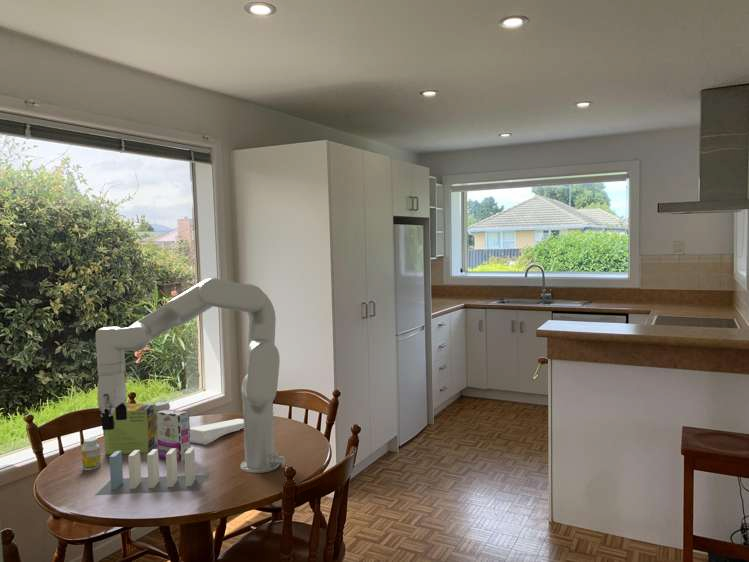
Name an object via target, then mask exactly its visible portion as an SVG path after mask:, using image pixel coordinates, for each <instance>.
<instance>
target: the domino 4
mask: <svg viewBox="0 0 749 562" xmlns="http://www.w3.org/2000/svg"><path fill="white" fill-rule="evenodd" d="M184 455H185V460H184V472H185V473H184V474H185V475H184V476H185V479H186V486H192V484H193V483H194V481H195V480H196V476H195V475H196V457H195V455H196V453H195V447H190V448H188V450H187V451H186V452H185V453H184Z"/></svg>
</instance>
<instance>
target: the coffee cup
mask: <svg viewBox="0 0 749 562" xmlns="http://www.w3.org/2000/svg"><path fill="white" fill-rule="evenodd" d="M151 403H155V407H156V412H159V411H162V410H165V409H171V405H170V403H169V401H167V400H158V401H152V402H151ZM156 428H157V418H156Z"/></svg>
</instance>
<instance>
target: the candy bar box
mask: <svg viewBox="0 0 749 562" xmlns="http://www.w3.org/2000/svg"><path fill="white" fill-rule="evenodd" d="M156 418H157V449H158V458H159V459H160V460H165V461H166V453H167V452H168V451H169V450H170V449H171V448H176V454H177V462H179V463H180V462H183V461H184V462H185V455H184V453H185V452H186V451H187V450H188V448H191V442H190V428H191V426H190V412H189V411H185V410H177V409H176V410H175V409H171V408H169V409H165V410H162V411H159V412H156Z"/></svg>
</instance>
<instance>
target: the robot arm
mask: <svg viewBox="0 0 749 562" xmlns="http://www.w3.org/2000/svg"><path fill="white" fill-rule="evenodd" d="M213 307H214V308H219V309H225V310H230V311H236V312H237V311H238V312H243V313H247V316H248V336H247V345H246V351H245V355H246V356H245V357H246V359H247V361H248V364H247V365H248V366H247V373H246V375H245V376H244V377H243V378H242V382H241V396H242V397H241V398H242V411H243V415H242V416H243V419H244V429H243V439H244V441H243V443H244V461H242V462H241V463H240V469H241V471H243V472H246V473H251V474H252V473H253V474H257V473H258V474H264V473H269V472H272V471H274V470H277V468H279V466H280V465H281V466H284V465H285V463H286V459H285V456H282V455H281V456H280V455H278V451H277V450H275V432H274V431H275V430H274V424H275V423H274V404H273V403H274V402H273V401H274V400H275V398H276V396H277V392H278V383H279V376H280V375H279V374H280V359H281V357H280V352H279V350H278V348H277V346H276V345H275V340H276V338H275V337H276V324H277V323H276V322H277V319H276V311H275V308H274V305H273V302H272V301H271V299H270V298H269V297H268V295H267V294H266V293H265V292H264V291H263V290H262V289H261V287H259V286H257V285H255V284H251V283H240V282H233V281H229V280H223V279H219V278H217V277H209V278H205V279H204V280H202V281H200V282H199V283H196V284H195V285H194V286H191V287H190V288H189V289H187V290H186V291H183V292H182V293H180V294H179V295H177V296H175V297H173V298H172V299H171V300H169V301H166V302H165V303H164V304H163V305H161V306H160V307H158V308H157V309H155V310H154V311H152V312H150V313H148V314H147V315H145V316H143V317H142V318H140V319H138V320H137V321H135V322H134V323H132V324H131V325H129V326H128V327H120V326H106V327H101V328H98V329H97V330H96V331H95V345H96V346H95V347H96V361H97V362H96V363H97V364H96V365H97V366H96V367H97V375H98V380H97V407H98V409H99V413H100V417H101V429H102V431H104V430H113V429H114V417H113V416H112V413H113V408H115V413H116V420H126V419H127V409H126V407H125V406H126V405H127V404H128V403H127V399H128V398H127V385H126V384H127V383H126V379H125V378H126V377H125V373H126V358H125V357H126V356H125V351H129V352H130V351H132V352H135V351H136V352H137V351H141V350H144V349H145V348H146V347H148V345H149V344H150V342H151V341H153V340H154V339H155V338H158V337H159V336H161V335H162V334H164V333H165V332H167V331H169V330H171V329H173V328H175V327H179V326H182V325H185V324H188V323H189V322H190V321H192V320H194V319H195V318H196V317H198V316H200V315H202V314H203V313H205V312H206V311H208V310H209V309H211V308H213ZM108 409H110V410H109V411H108Z"/></svg>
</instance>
